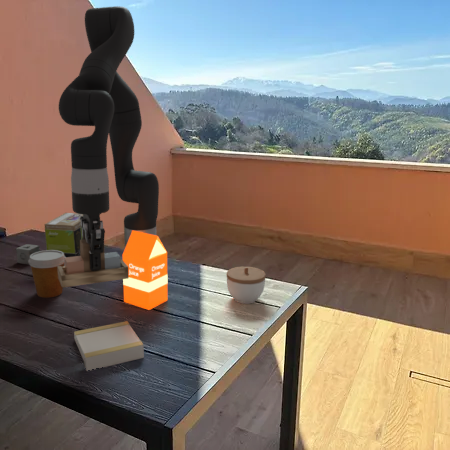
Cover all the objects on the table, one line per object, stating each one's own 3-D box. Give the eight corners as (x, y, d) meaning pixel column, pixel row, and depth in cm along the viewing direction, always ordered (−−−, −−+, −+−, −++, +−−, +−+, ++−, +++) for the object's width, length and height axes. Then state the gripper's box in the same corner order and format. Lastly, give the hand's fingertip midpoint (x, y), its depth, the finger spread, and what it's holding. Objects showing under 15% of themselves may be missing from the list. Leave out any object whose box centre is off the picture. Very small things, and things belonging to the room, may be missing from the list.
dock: (127, 332, 111) (127, 320, 110) (143, 357, 101) (143, 344, 100) (74, 344, 105) (74, 331, 104) (86, 371, 95) (85, 357, 94)
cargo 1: (81, 270, 103) (80, 255, 103) (84, 275, 100) (83, 260, 100) (65, 272, 102) (64, 257, 101) (67, 277, 99) (66, 262, 98)
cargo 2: (116, 266, 107) (116, 251, 106) (120, 270, 104) (120, 256, 103) (101, 268, 105) (101, 253, 104) (105, 273, 102) (104, 258, 102)
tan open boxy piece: (121, 269, 109) (120, 234, 107) (128, 278, 104) (127, 241, 102) (58, 278, 103) (55, 240, 101) (62, 287, 98) (59, 248, 95)
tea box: (68, 252, 165) (65, 211, 161) (95, 254, 164) (93, 213, 160) (47, 267, 151) (43, 222, 147) (76, 269, 150) (74, 224, 146)
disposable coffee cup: (56, 305, 124) (53, 262, 121) (24, 301, 126) (20, 259, 123) (74, 291, 133) (72, 251, 130) (44, 288, 135) (41, 248, 132)
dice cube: (17, 262, 154) (16, 248, 153) (27, 258, 159) (26, 244, 157) (30, 264, 153) (29, 250, 151) (40, 260, 157) (39, 245, 156)
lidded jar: (269, 295, 134) (271, 264, 131) (256, 310, 124) (257, 277, 122) (235, 288, 138) (236, 258, 135) (219, 302, 128) (220, 270, 126)
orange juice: (149, 314, 120) (147, 239, 115) (123, 305, 125) (121, 233, 120) (168, 303, 127) (167, 232, 122) (143, 295, 131) (141, 226, 126)
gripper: (116, 194, 94) (118, 275, 98) (101, 182, 106) (103, 255, 110) (78, 196, 91) (82, 280, 95) (66, 184, 103) (70, 259, 107)
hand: (93, 266), depth 103 cm, fingers closed on tan open boxy piece, 3 cm apart
